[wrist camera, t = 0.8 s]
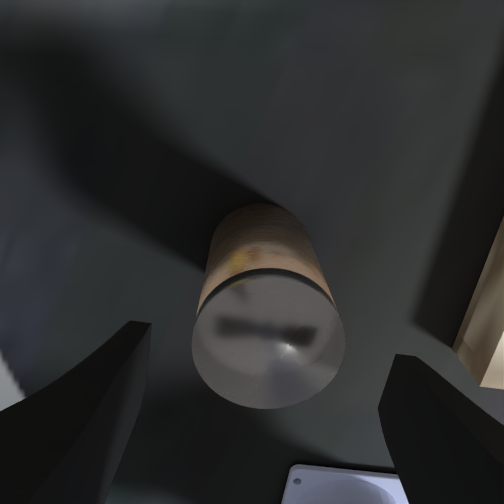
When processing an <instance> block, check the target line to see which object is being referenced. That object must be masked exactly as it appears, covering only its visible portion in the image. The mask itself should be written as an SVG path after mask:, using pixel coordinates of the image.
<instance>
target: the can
mask: <svg viewBox="0 0 504 504" xmlns="http://www.w3.org/2000/svg"><path fill="white" fill-rule="evenodd" d="M345 342H346V341H345V332H344V328H343V325H342V322H341V319H340V317H339V314H338V311H337V309H336V306H335V304H334V301H333V299H332V296H331V293H330V291H329V288H328V286H327V283H326V281H325V278H324V275H323V273H322V270H321V268H320V265H319V262H318V260H317V257H316V255H315V252H314V250H313V247H312V244H311V242H310V239H309V237H308V234H307V232H306V230H305V228H304V226H303V225H302V223H301V222H300V221H299V219H298V218H297V217H295V216H294V215H293V214H292V213H290V212H289V211H288V210H286V209H284V208H282V207H279V206H276V205H272V204H264V203H258V204H250V205H246V206H243V207H240V208H238V209H236V210H234V211H233V212H231V213H230V214H228V215H227V216H226V217H225V218H224V219H223V220H222V221H221V222H220V224H219V225H218V226H217V228H216V230H215V232H214V234H213V237H212V241H211V246H210V251H209V256H208V261H207V266H206V271H205V276H204V281H203V286H202V291H201V296H200V301H199V306H198V311H197V316H196V321H195V326H194V331H193V336H192V356H193V360H194V363H195V366H196V368H197V370H198V372H199V374H200V376H201V377H202V379H203V380H204V381H205V382H206V384H207V385H208V386H209V387H210V388H211V389H212V390H213V391H215V392H216V393H217V394H219V395H220V396H222V397H223V398H225V399H227V400H229V401H231V402H233V403H236V404H238V405H242V406H246V407H250V408H256V409H276V408H283V407H288V406H292V405H295V404H298V403H300V402H303V401H305V400H307V399H309V398H311V397H312V396H314V395H315V394H317V393H318V392H320V391H321V390H322V389H323V388H324V387H326V386H327V384H328V383H329V382H330V381H331V380H332V379H333V377H334V376H335V375H336V373H337V371H338V369H339V368H340V366H341V363H342V360H343V357H344V352H345Z"/></svg>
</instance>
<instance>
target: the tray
mask: <svg viewBox="0 0 504 504" xmlns="http://www.w3.org/2000/svg"><path fill="white" fill-rule="evenodd" d="M452 350H453V351H454V353H455V354H456V355H457V357H458V358H459V359H460V361H461V362H462V363H463V365H464V366H465V367H466V369H467V370H468V371H469V373H470V374H471V375H472V377H473V378H474V379H475V381H476V382H477V383H478V385H479V386H481V387H489V388H497V389H504V217H503V219H502V222H501V224H500V227H499V229H498V232H497V235H496V237H495V240H494V242H493V245H492V247H491V250H490V253H489V255H488V258H487V260H486V263H485V265H484V268H483V270H482V273H481V276H480V278H479V281H478V283H477V286H476V288H475V291H474V294H473V296H472V299H471V301H470V304H469V306H468V309H467V311H466V314H465V317H464V319H463V322H462V324H461V327H460V329H459V332H458V334H457V337H456V340H455V342H454V345H453V347H452Z"/></svg>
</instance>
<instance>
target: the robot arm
mask: <svg viewBox="0 0 504 504" xmlns="http://www.w3.org/2000/svg"><path fill="white" fill-rule="evenodd" d="M151 325H152V323H145V322H137V321H129V322H128V323H126V324H125V325H124V326H123V327H122V328H121V329H119V330H118V331H117V332H116V333H115V334H114V335H113V336H112V337H111V338H110V339H108V340H107V341H106V342H105V343H104V344H103V345H101V346H100V347H99V348H98V349H97V350H95V351H94V352H93V353H92V354H91V355H89V356H88V357H87V358H86V359H84V360H83V361H82V362H80V363H79V364H78V365H76V366H75V367H74V368H72V369H71V370H70V371H68V372H67V373H65V374H64V375H63V376H61V377H60V378H58V379H57V380H55V381H54V382H52V383H51V384H49V385H48V386H46V387H44V388H43V389H41V390H39V391H38V392H36V393H34V394H33V395H31V396H29V397H27V398H26V399H24V400H22V401H20V402H18V403H16V404H14V405H12V406H10V407H8V408H6V409H4V410H2V411H0V504H105V501H106V498H107V495H108V492H109V489H110V486H111V484H112V481H113V479H114V476H115V473H116V471H117V468H118V466H119V463H120V461H121V458H122V455H123V453H124V450H125V448H126V445H127V443H128V440H129V438H130V435H131V432H132V430H133V427H134V425H135V422H136V419H137V417H138V414H139V411H140V407H141V403H142V399H143V395H144V391H145V387H146V383H147V375H148V362H149V350H150V338H151ZM378 412H379V417H380V422H381V426H382V430H383V434H384V438H385V442H386V445H387V447H388V450H389V453H390V456H391V458H392V461H393V464H394V466H395V469H396V472H397V474H398V475H396V474H387V473H377V472H368V471H358V470H349V469H339V468H330V467H320V466H310V465H301V464H297V465H294V466H292V467H291V469H290V471H289V475H288V479H287V483H286V487H285V491H284V495H283V499H282V503H281V504H504V425H502V424H501V423H500V422H498V421H497V420H495V419H494V418H493V417H491V416H490V415H489V414H487V413H486V412H485V411H484V410H482V409H481V408H480V407H479V406H477V405H476V404H475V403H473V402H472V401H471V400H470V399H469V398H467V397H466V396H465V395H464V394H462V393H461V392H460V391H459V390H458V389H456V388H455V387H454V386H453V385H451V384H450V383H449V382H448V381H447V380H445V379H444V378H443V377H442V376H441V375H439V374H438V373H437V372H436V371H435V370H433V369H432V368H431V367H430V366H428V365H427V364H426V363H424V362H423V361H422V360H420V359H419V358H417V357H416V356H409V355H401V354H396V355H395V358H394V361H393V364H392V367H391V370H390V373H389V376H388V379H387V382H386V385H385V388H384V391H383V394H382V397H381V400H380V403H379V406H378ZM297 478H298V479H297Z"/></svg>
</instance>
